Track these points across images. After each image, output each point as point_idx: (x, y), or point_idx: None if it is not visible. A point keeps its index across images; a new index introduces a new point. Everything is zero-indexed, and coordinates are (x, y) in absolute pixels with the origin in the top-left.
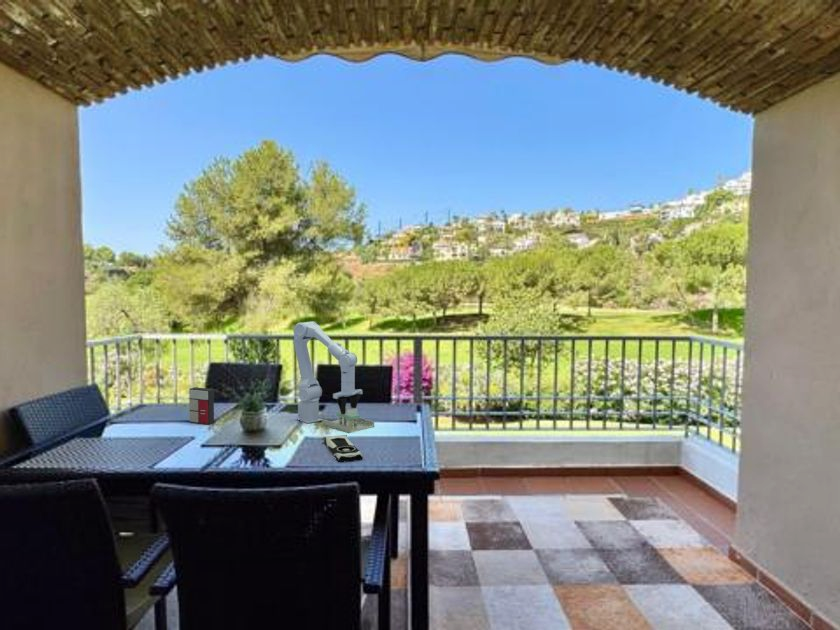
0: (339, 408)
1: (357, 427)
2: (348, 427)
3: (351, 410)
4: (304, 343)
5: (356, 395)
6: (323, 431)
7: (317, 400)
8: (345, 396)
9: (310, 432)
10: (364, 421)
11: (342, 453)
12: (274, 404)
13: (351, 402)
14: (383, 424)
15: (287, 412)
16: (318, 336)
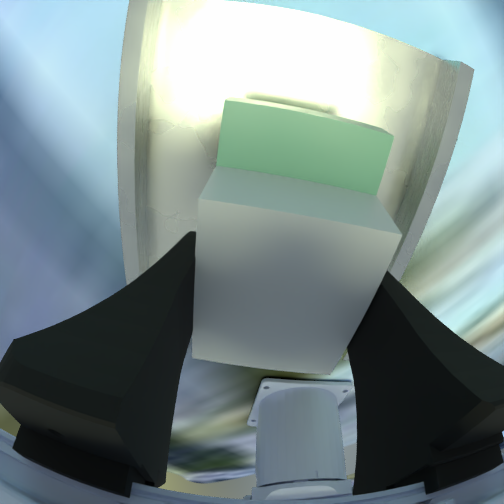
0: (330, 367)
1: (322, 57)
2: (473, 70)
3: (331, 214)
4: None
5: (70, 447)
6: (467, 242)
7: (295, 486)
8: (378, 496)
9: (492, 280)
10: (143, 118)
11: None
12: (212, 480)
13: (177, 375)
14: (52, 22)
15: (250, 459)
16: None
